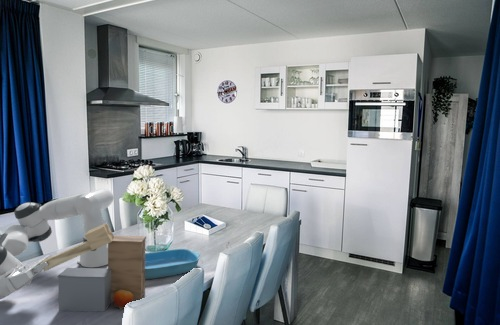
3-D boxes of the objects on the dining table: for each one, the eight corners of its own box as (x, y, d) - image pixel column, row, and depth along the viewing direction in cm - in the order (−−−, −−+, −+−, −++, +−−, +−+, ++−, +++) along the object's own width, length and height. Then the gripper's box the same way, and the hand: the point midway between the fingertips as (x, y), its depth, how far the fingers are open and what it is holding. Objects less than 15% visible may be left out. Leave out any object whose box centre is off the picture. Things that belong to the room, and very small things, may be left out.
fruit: (105, 307, 146) (112, 286, 149) (116, 308, 153) (123, 289, 156) (121, 311, 143) (128, 290, 146) (132, 313, 150) (138, 293, 153)
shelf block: (113, 291, 163) (113, 235, 160) (145, 292, 163) (146, 236, 161) (107, 299, 155) (107, 240, 152) (141, 299, 156) (141, 241, 153)
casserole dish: (190, 257, 208) (190, 245, 207) (206, 272, 189) (206, 258, 188) (124, 268, 189) (124, 255, 188) (134, 285, 170) (134, 271, 169)
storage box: (67, 300, 153) (67, 267, 151) (111, 301, 154) (111, 268, 152) (58, 310, 144) (57, 276, 143) (104, 311, 145) (104, 277, 144)
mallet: (49, 267, 149) (41, 252, 148) (114, 237, 153) (107, 222, 152) (42, 272, 142) (34, 257, 141) (111, 241, 146) (103, 226, 145)
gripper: (38, 272, 156) (66, 257, 156) (9, 295, 136) (42, 277, 136) (30, 260, 155) (58, 245, 155) (0, 281, 135) (33, 263, 135)
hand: (50, 260), depth 145 cm, fingers closed on mallet, 4 cm apart
